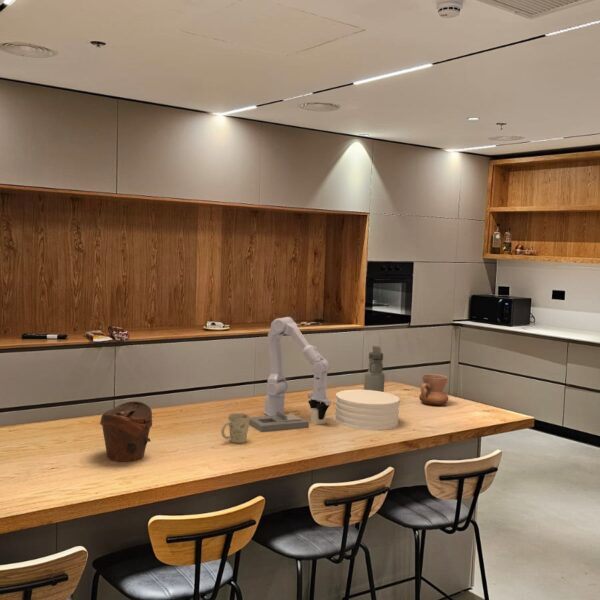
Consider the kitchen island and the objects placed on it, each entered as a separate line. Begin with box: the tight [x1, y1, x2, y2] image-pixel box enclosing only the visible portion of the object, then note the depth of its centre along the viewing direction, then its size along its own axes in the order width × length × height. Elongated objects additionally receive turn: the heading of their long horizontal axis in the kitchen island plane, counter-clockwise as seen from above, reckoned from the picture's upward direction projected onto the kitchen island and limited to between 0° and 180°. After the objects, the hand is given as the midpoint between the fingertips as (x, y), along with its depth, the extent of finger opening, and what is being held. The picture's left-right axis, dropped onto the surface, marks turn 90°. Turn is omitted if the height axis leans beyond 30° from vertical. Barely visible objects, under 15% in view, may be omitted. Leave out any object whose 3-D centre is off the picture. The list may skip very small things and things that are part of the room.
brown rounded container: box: [99, 400, 153, 462], centre depth 246 cm, size 18×20×18 cm
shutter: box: [276, 412, 302, 422], centre depth 300 cm, size 8×8×2 cm
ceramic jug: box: [418, 373, 449, 406], centre depth 354 cm, size 18×14×14 cm
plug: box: [310, 407, 327, 425], centre depth 306 cm, size 4×5×8 cm
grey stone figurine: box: [363, 345, 386, 392], centre depth 347 cm, size 10×10×28 cm
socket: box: [249, 413, 310, 433], centre depth 298 cm, size 14×22×2 cm, turn 119°
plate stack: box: [334, 389, 401, 431], centre depth 312 cm, size 28×28×12 cm
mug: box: [220, 412, 251, 444], centre depth 271 cm, size 8×13×10 cm, turn 137°
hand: (318, 417), depth 306 cm, fingers closed on plug, 4 cm apart
